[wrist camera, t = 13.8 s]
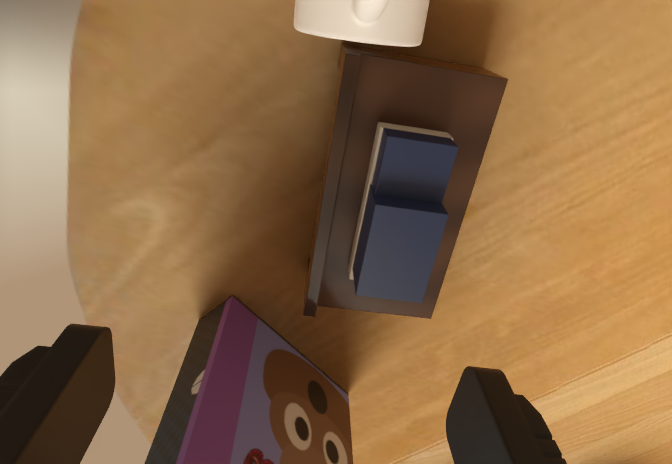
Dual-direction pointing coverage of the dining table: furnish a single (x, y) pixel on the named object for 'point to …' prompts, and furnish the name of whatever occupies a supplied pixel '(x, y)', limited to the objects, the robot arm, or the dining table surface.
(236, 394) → the cereal box
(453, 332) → the dining table surface
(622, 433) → the dining table surface
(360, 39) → the mug
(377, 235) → the blue stepped block
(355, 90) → the shelf
